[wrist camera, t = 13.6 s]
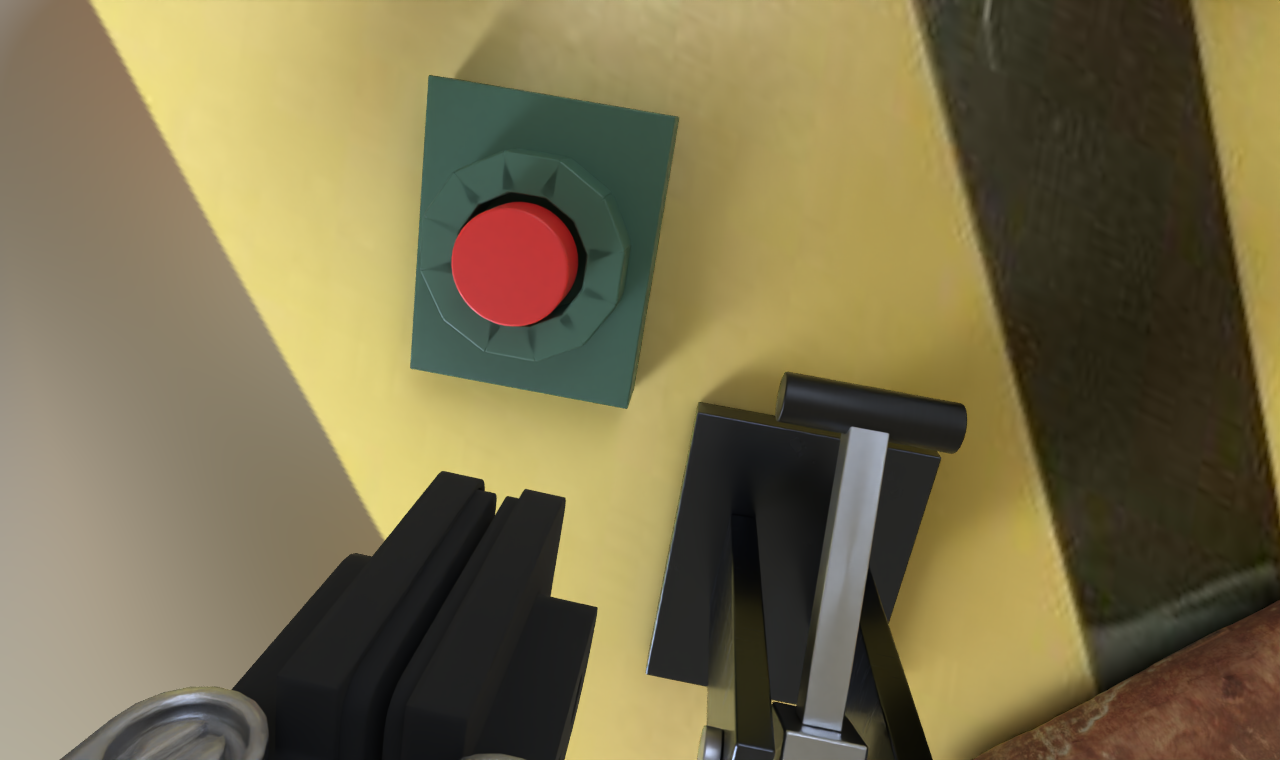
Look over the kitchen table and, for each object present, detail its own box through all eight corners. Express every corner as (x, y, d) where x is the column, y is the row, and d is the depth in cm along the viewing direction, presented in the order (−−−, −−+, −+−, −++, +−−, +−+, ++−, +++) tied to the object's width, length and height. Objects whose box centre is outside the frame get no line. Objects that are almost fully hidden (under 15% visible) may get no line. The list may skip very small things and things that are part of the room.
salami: (898, 760, 34) (930, 878, 29) (1334, 524, 29) (1472, 615, 23) (980, 851, 35) (1026, 980, 30) (1415, 640, 30) (1564, 752, 24)
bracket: (698, 400, 30) (681, 595, 18) (933, 444, 29) (1082, 675, 17) (647, 656, 34) (605, 958, 22) (854, 697, 33) (930, 1029, 21)
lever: (778, 375, 23) (791, 366, 21) (945, 405, 23) (978, 401, 21) (707, 789, 22) (712, 830, 20) (880, 825, 22) (907, 871, 20)
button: (473, 192, 24) (455, 197, 23) (585, 212, 24) (575, 219, 22) (464, 303, 25) (445, 315, 24) (571, 322, 25) (560, 336, 24)
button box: (450, 78, 27) (406, 71, 23) (679, 117, 26) (672, 116, 23) (431, 351, 30) (389, 385, 26) (633, 388, 30) (621, 428, 26)
